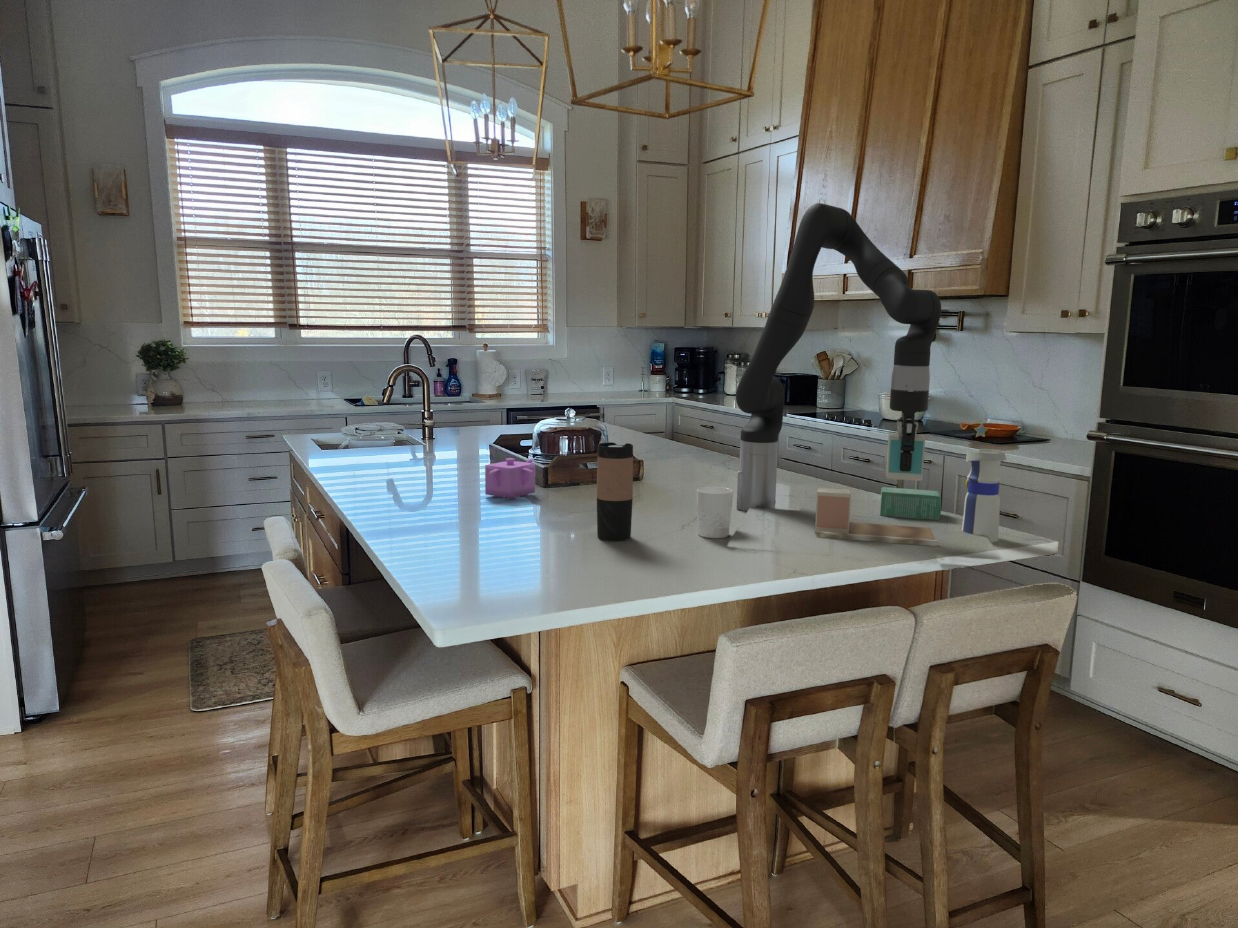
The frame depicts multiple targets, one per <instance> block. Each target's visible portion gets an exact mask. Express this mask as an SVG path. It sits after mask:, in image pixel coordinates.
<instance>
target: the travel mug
mask: <svg viewBox="0 0 1238 928" xmlns="http://www.w3.org/2000/svg"><path fill="white" fill-rule="evenodd" d="M596 460H597V466H596V469H597V470H596V528H597V529H596V531H597V538H598V539H599V540H602V541H608V542H621V541H622V542H623V541H627V540H630V539H631V536H632V535H631V534H632V516H633V514H632V513H633V500H634V499H633V495H634V493H633V492H634V491H633V490H634V488H633V487H634V486H633V485H634V484H633V483H634V480H633V479H634V464H633V463H634V445H633V444H632V443H628V442H627V443H625V444H622V445H621V444H620V445H619V444H617V443H616V442H600V443H597V459H596Z"/></svg>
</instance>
